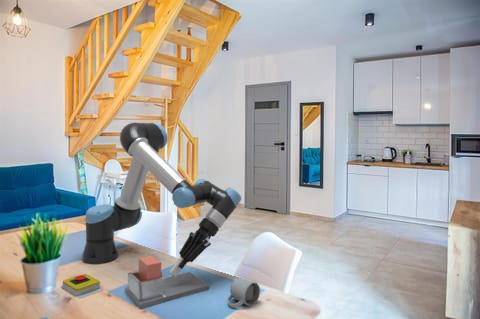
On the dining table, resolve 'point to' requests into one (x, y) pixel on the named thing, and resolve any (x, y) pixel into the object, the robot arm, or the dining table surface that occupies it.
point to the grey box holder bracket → (145, 287)
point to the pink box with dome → (149, 268)
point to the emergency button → (82, 285)
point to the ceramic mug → (244, 292)
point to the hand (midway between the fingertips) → (172, 274)
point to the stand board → (174, 289)
